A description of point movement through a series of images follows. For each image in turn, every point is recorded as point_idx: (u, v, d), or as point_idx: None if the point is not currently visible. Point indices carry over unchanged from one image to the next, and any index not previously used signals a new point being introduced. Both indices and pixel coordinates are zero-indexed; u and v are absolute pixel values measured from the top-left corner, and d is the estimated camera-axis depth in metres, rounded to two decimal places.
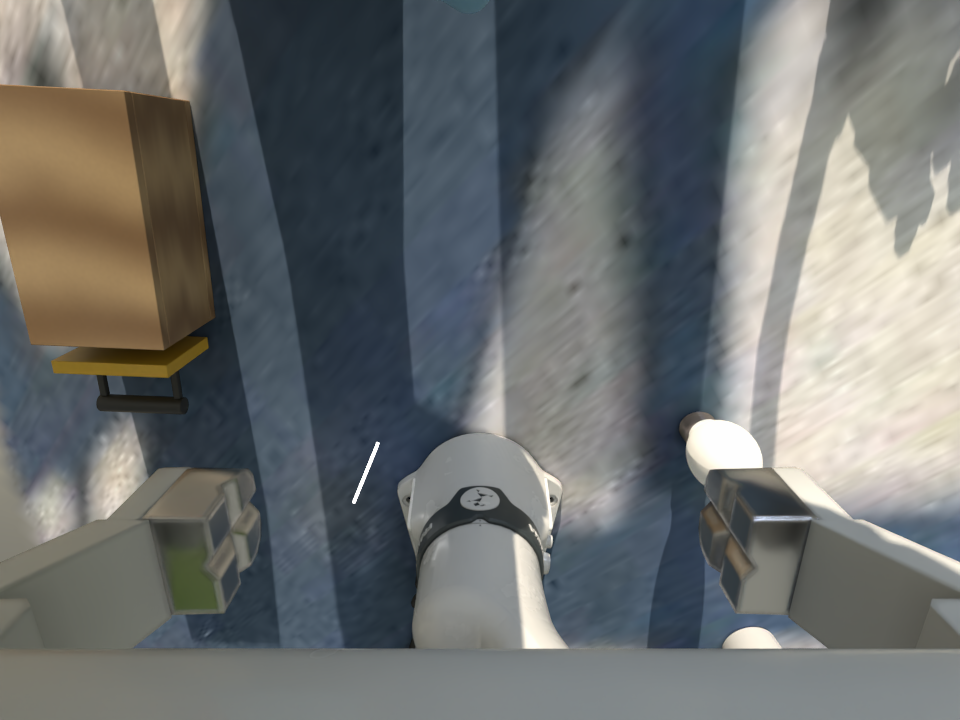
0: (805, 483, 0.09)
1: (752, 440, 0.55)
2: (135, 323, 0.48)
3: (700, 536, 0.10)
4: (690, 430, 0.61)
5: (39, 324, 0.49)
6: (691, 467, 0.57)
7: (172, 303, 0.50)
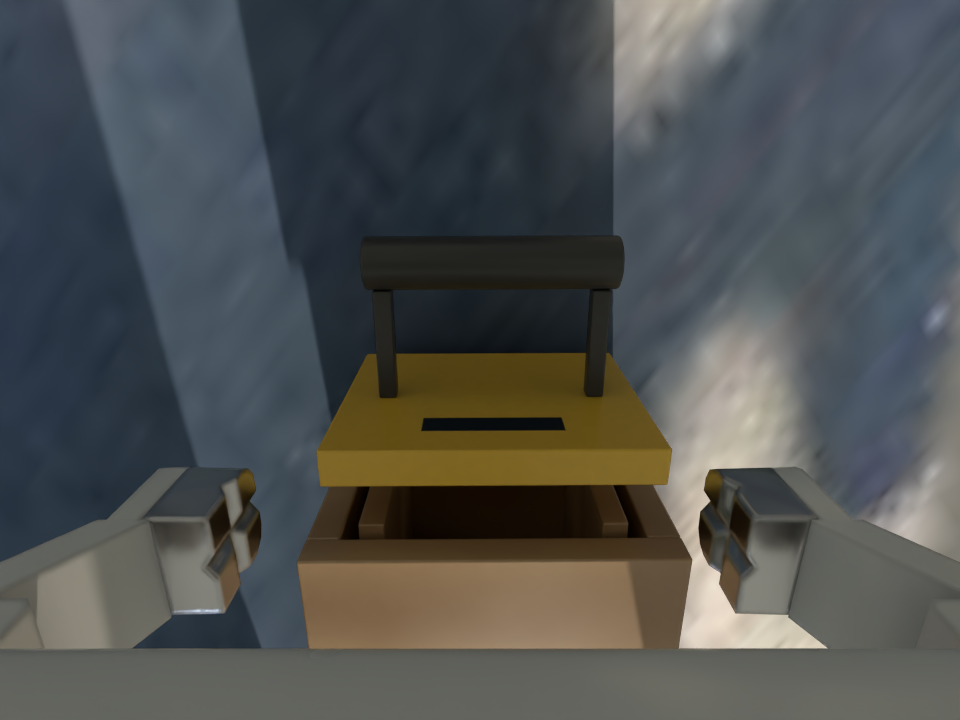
0: (805, 483, 0.09)
1: None
2: (374, 625, 0.17)
3: (700, 537, 0.10)
4: None
5: (646, 611, 0.17)
6: None
7: None
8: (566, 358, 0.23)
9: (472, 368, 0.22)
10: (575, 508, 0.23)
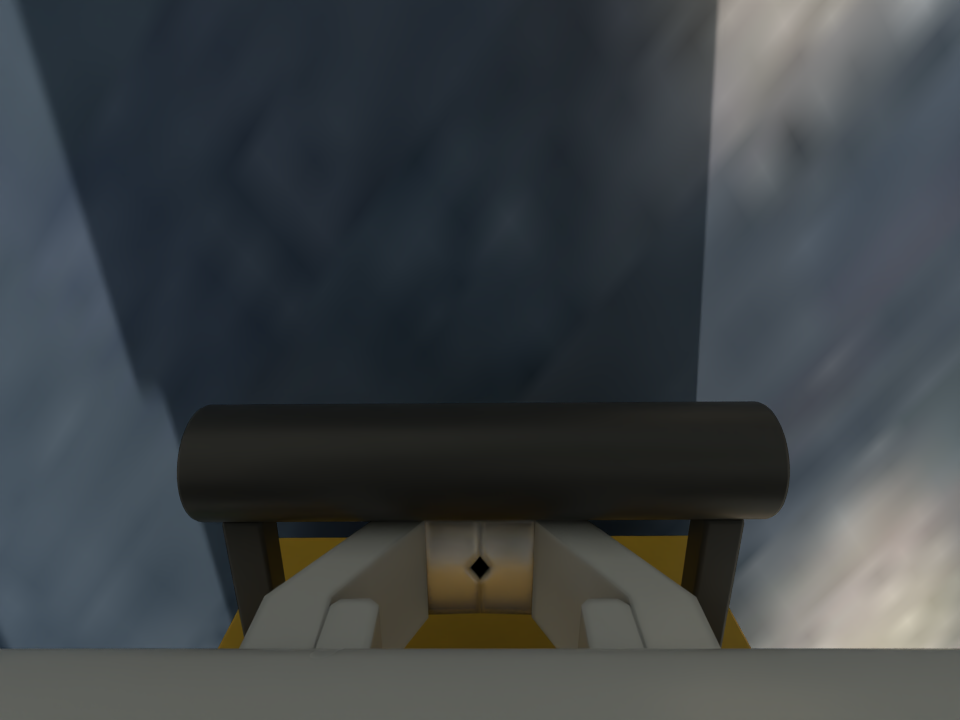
0: None
1: None
2: None
3: None
4: None
5: None
6: None
7: None
8: None
9: None
10: None
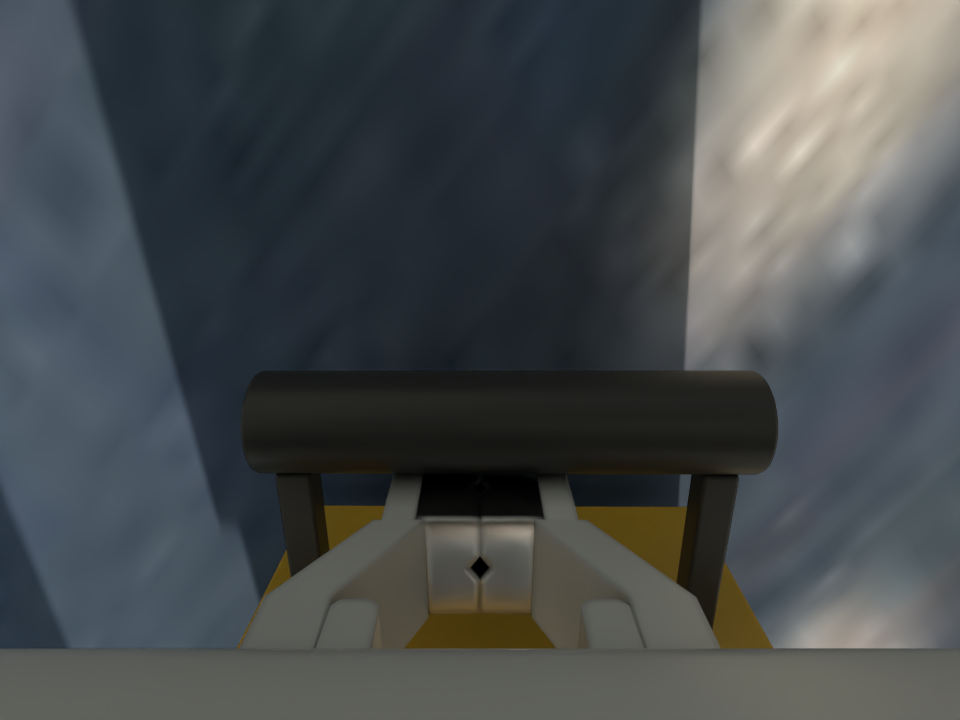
0: (556, 483, 0.09)
1: None
2: None
3: None
4: None
5: None
6: None
7: None
8: (626, 520, 0.14)
9: None
10: None
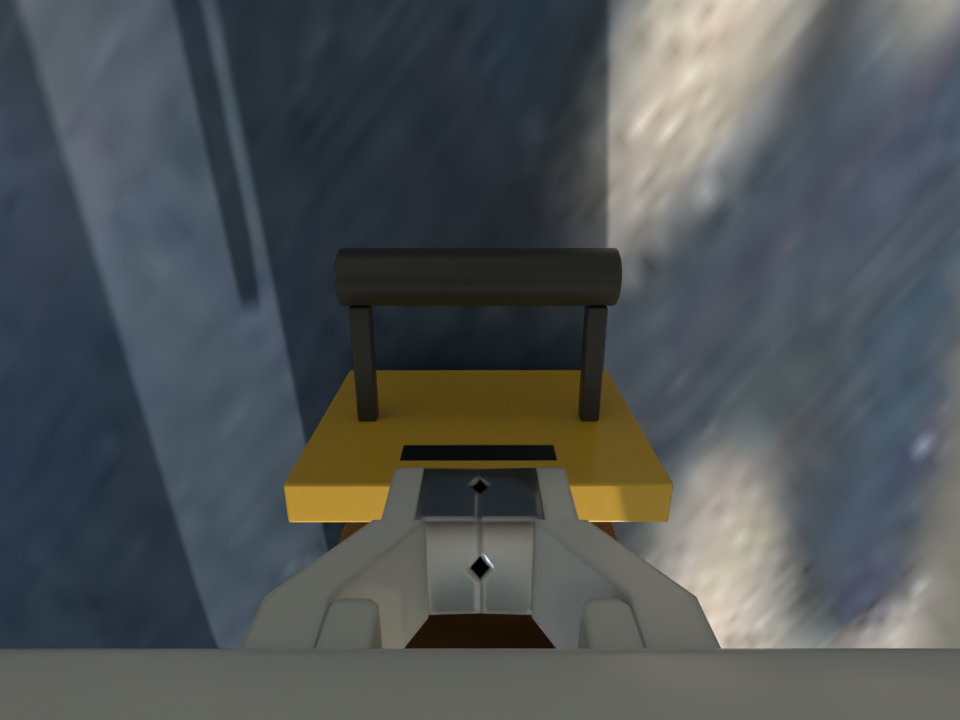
0: (556, 483, 0.09)
1: None
2: None
3: None
4: None
5: None
6: None
7: None
8: (561, 375, 0.22)
9: (460, 387, 0.21)
10: None
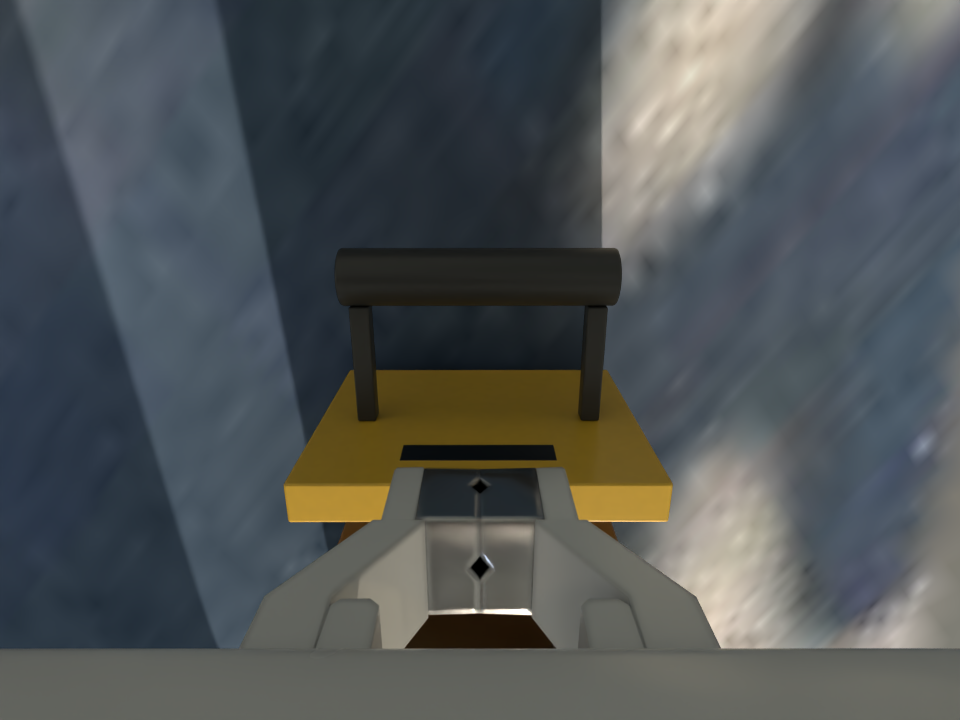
0: (556, 483, 0.09)
1: None
2: None
3: None
4: None
5: None
6: None
7: None
8: (561, 375, 0.22)
9: (460, 387, 0.21)
10: None
